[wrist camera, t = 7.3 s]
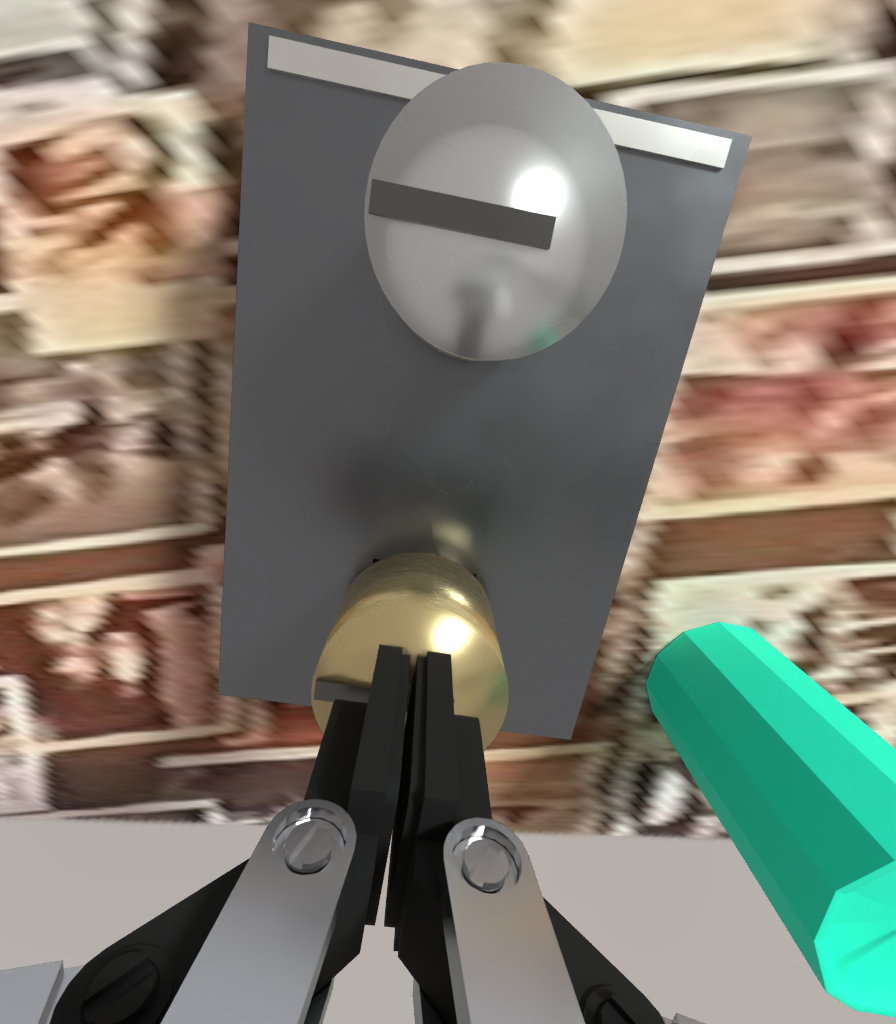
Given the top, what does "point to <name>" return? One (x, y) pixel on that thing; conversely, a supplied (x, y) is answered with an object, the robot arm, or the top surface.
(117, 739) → the top surface
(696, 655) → the candle
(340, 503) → the mount
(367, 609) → the knob
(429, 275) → the knob
